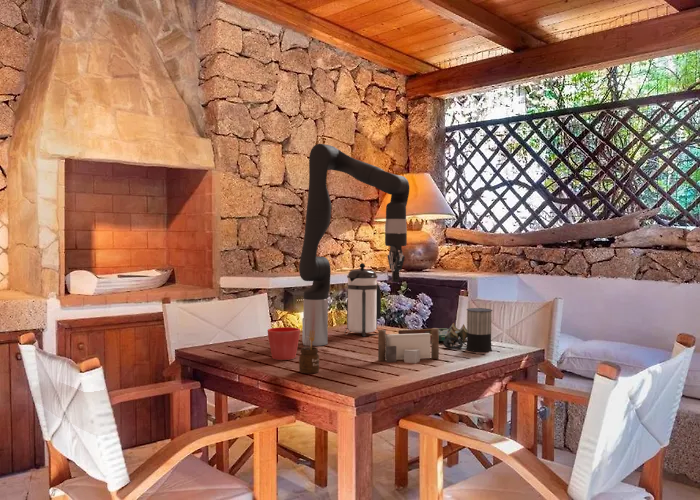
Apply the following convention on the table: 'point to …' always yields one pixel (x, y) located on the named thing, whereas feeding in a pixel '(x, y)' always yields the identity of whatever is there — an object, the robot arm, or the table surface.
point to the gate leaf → (409, 343)
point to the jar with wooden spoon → (309, 358)
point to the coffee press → (363, 301)
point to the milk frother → (475, 331)
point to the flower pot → (283, 342)
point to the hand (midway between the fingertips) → (395, 282)
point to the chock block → (411, 355)
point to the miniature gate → (441, 332)
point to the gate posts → (390, 351)
